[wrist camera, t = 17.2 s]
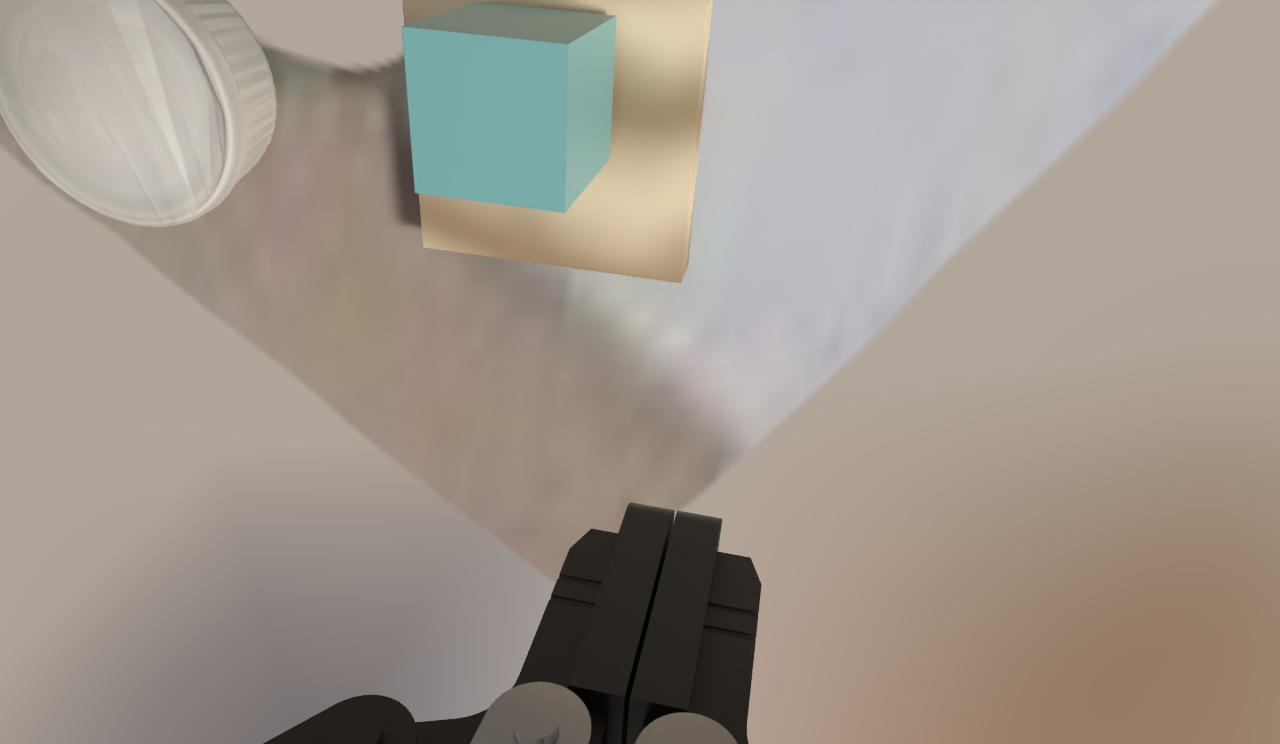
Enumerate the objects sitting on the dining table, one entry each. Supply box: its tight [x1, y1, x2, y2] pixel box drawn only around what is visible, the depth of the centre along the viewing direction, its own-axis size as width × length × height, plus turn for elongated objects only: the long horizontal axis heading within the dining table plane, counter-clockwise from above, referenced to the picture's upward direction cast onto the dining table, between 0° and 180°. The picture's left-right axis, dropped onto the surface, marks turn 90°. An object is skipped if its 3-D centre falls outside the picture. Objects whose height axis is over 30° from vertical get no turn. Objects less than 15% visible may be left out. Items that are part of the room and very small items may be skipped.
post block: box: [403, 0, 713, 283], centre depth 31 cm, size 16×12×8 cm
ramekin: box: [0, 0, 277, 227], centre depth 36 cm, size 11×11×5 cm
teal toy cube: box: [402, 2, 617, 213], centre depth 30 cm, size 5×5×7 cm
